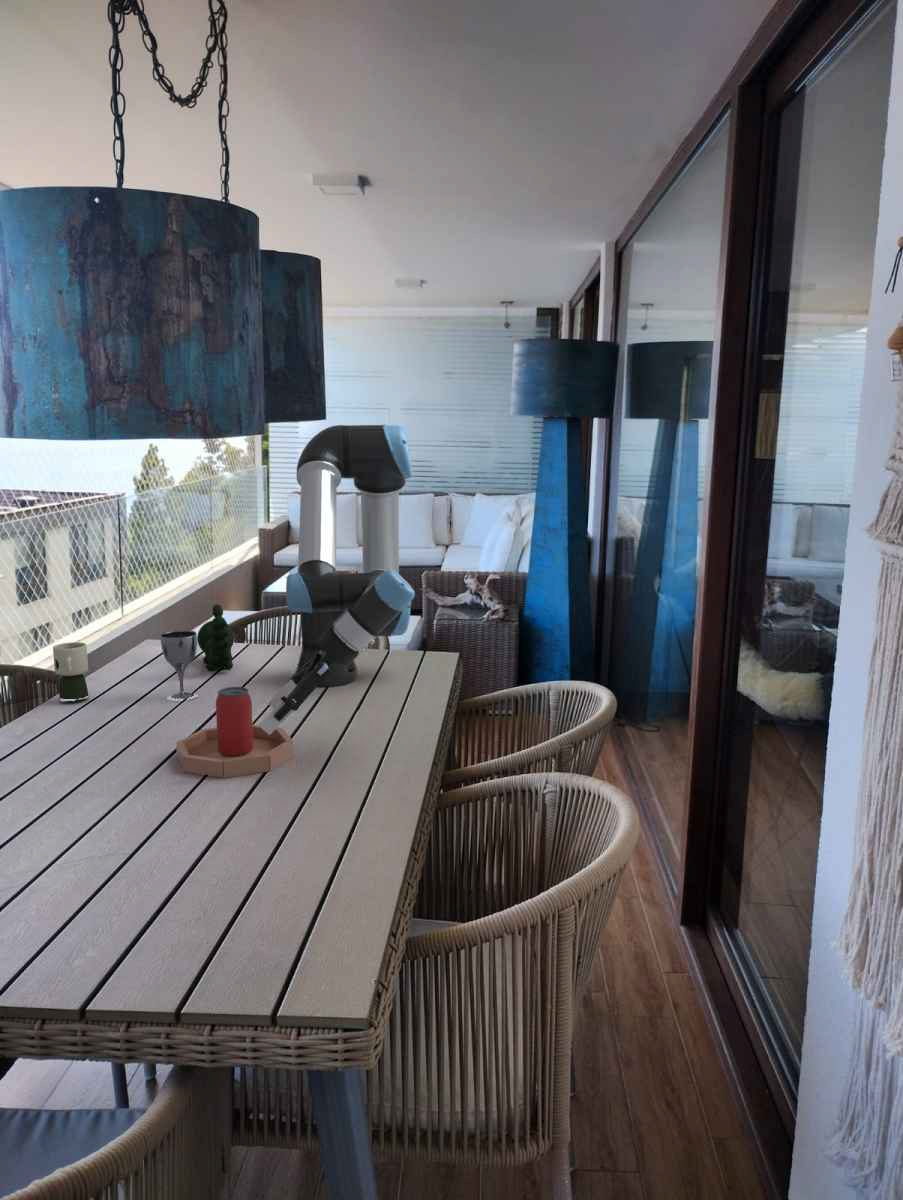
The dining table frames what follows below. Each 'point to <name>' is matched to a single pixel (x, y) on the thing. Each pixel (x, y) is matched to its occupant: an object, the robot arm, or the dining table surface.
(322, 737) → the dining table surface
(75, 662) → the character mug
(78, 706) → the dining table surface
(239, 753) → the beer can
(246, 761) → the terracotta saucer
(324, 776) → the dining table surface
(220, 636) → the toy figurine
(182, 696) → the wine glass
